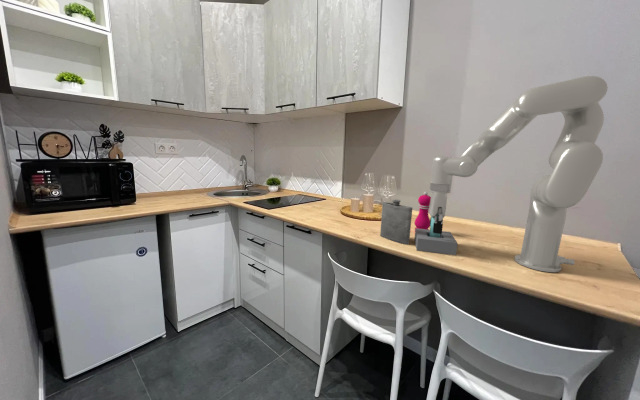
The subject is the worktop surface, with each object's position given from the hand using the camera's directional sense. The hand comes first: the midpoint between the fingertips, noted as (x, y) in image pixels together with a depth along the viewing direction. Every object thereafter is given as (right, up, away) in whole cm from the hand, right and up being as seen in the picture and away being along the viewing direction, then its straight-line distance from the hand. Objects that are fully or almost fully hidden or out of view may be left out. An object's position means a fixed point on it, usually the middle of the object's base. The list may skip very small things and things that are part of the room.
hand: (435, 229), depth 103 cm
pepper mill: (+2, -4, +20) cm, 21 cm away
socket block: (0, -7, +1) cm, 7 cm away
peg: (0, -7, +1) cm, 7 cm away
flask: (-15, -6, +8) cm, 18 cm away
